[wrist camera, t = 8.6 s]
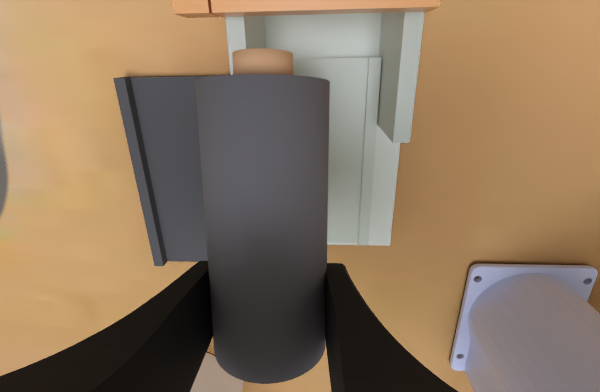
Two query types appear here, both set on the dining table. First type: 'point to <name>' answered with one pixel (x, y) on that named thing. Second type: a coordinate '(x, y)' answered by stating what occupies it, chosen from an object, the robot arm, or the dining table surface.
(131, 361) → the robot arm
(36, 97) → the dining table surface
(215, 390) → the milk
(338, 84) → the white roller cradle
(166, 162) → the dark grey roller cradle
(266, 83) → the grey roller spool
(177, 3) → the long tan wooden plank
